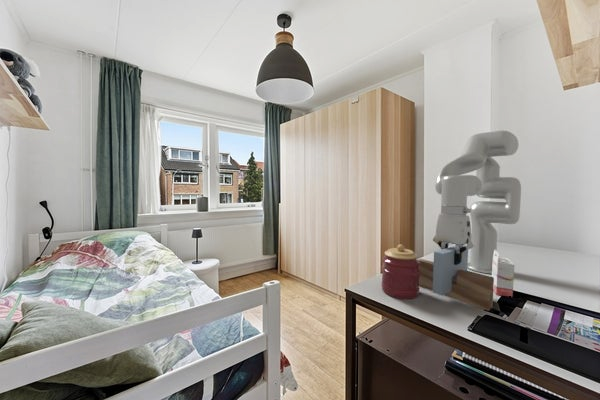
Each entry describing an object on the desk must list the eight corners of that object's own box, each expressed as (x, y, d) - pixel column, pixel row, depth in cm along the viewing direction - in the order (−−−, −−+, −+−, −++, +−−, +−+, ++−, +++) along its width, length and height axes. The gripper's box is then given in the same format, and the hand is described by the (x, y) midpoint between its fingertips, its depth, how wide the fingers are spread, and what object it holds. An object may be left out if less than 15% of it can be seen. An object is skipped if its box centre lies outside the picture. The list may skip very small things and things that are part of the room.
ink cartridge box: (513, 297, 86) (516, 256, 85) (495, 294, 88) (497, 254, 87) (507, 288, 94) (509, 250, 93) (490, 286, 96) (492, 248, 95)
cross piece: (457, 280, 94) (459, 244, 93) (466, 283, 91) (468, 246, 91) (432, 292, 84) (434, 251, 83) (441, 295, 81) (443, 253, 81)
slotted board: (420, 283, 99) (421, 258, 98) (492, 308, 79) (493, 277, 78) (416, 285, 97) (416, 260, 96) (488, 310, 77) (490, 279, 76)
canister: (395, 282, 100) (396, 239, 99) (426, 293, 89) (428, 245, 88) (374, 289, 93) (374, 243, 92) (405, 303, 82) (406, 251, 81)
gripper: (485, 212, 81) (483, 267, 82) (435, 208, 95) (433, 255, 96) (475, 213, 77) (473, 271, 78) (424, 209, 91) (423, 258, 92)
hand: (451, 262), depth 87 cm, fingers closed on cross piece, 3 cm apart
